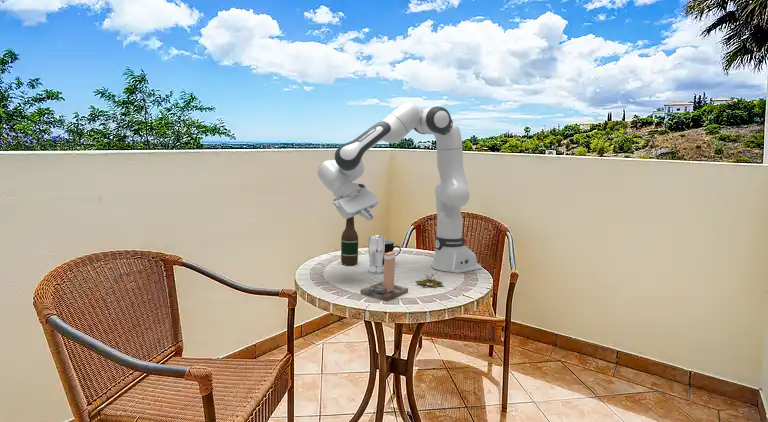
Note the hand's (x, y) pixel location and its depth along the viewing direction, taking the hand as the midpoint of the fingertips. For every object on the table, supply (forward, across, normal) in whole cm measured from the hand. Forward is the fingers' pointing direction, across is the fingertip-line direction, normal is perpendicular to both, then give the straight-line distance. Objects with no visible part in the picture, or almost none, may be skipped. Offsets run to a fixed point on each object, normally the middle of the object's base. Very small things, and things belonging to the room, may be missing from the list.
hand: (371, 218), depth 174 cm
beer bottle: (0, +13, +37) cm, 39 cm away
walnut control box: (+24, -11, +11) cm, 29 cm away
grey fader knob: (+22, -7, +11) cm, 26 cm away
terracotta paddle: (+25, -12, +8) cm, 29 cm away
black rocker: (+24, -15, +7) cm, 29 cm away
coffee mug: (+10, +23, +30) cm, 39 cm away
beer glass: (+12, +10, +26) cm, 30 cm away
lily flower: (+33, +10, +9) cm, 35 cm away
